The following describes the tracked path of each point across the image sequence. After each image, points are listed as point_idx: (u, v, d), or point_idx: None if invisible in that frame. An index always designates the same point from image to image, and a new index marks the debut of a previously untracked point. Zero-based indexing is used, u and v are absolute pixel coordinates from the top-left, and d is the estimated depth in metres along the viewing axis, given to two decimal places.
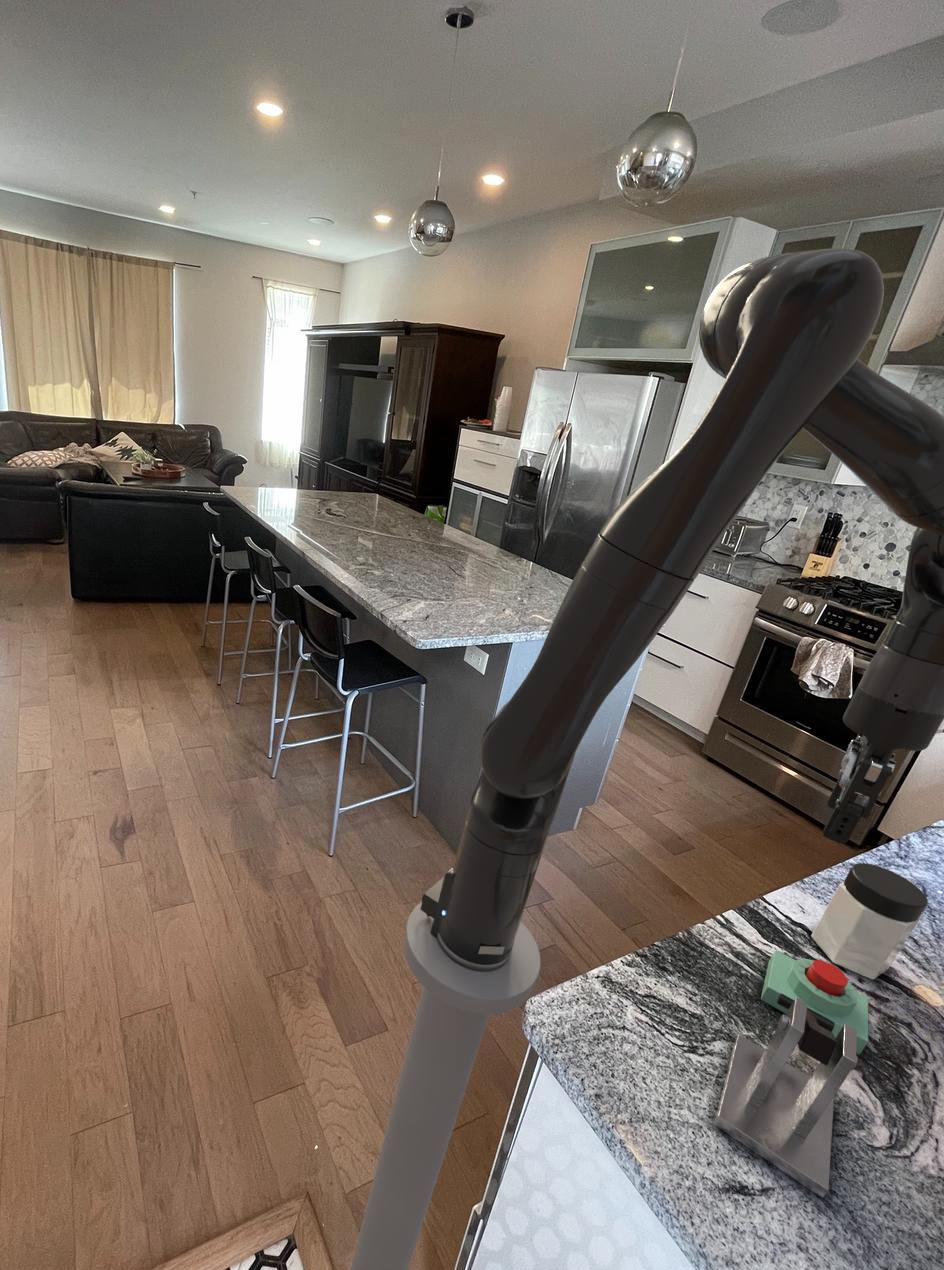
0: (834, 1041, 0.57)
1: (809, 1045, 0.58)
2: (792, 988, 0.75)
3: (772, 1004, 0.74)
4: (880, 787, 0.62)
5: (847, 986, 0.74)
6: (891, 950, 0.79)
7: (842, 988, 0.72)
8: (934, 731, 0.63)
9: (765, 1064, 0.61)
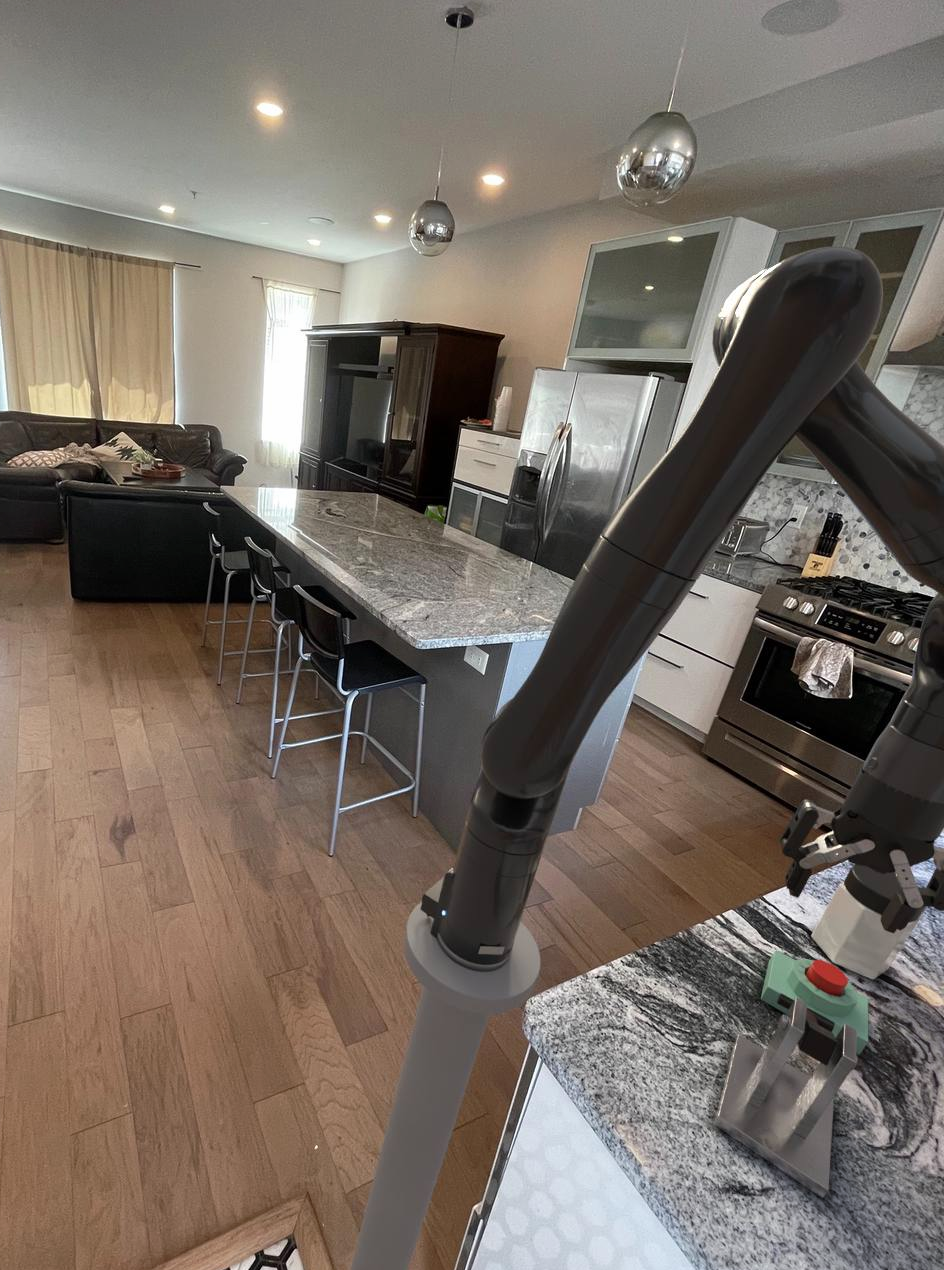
0: (834, 1041, 0.57)
1: (809, 1045, 0.58)
2: (792, 988, 0.75)
3: (772, 1004, 0.74)
4: (797, 824, 0.65)
5: (847, 986, 0.74)
6: (891, 950, 0.79)
7: (842, 988, 0.72)
8: (891, 808, 0.58)
9: (765, 1064, 0.61)
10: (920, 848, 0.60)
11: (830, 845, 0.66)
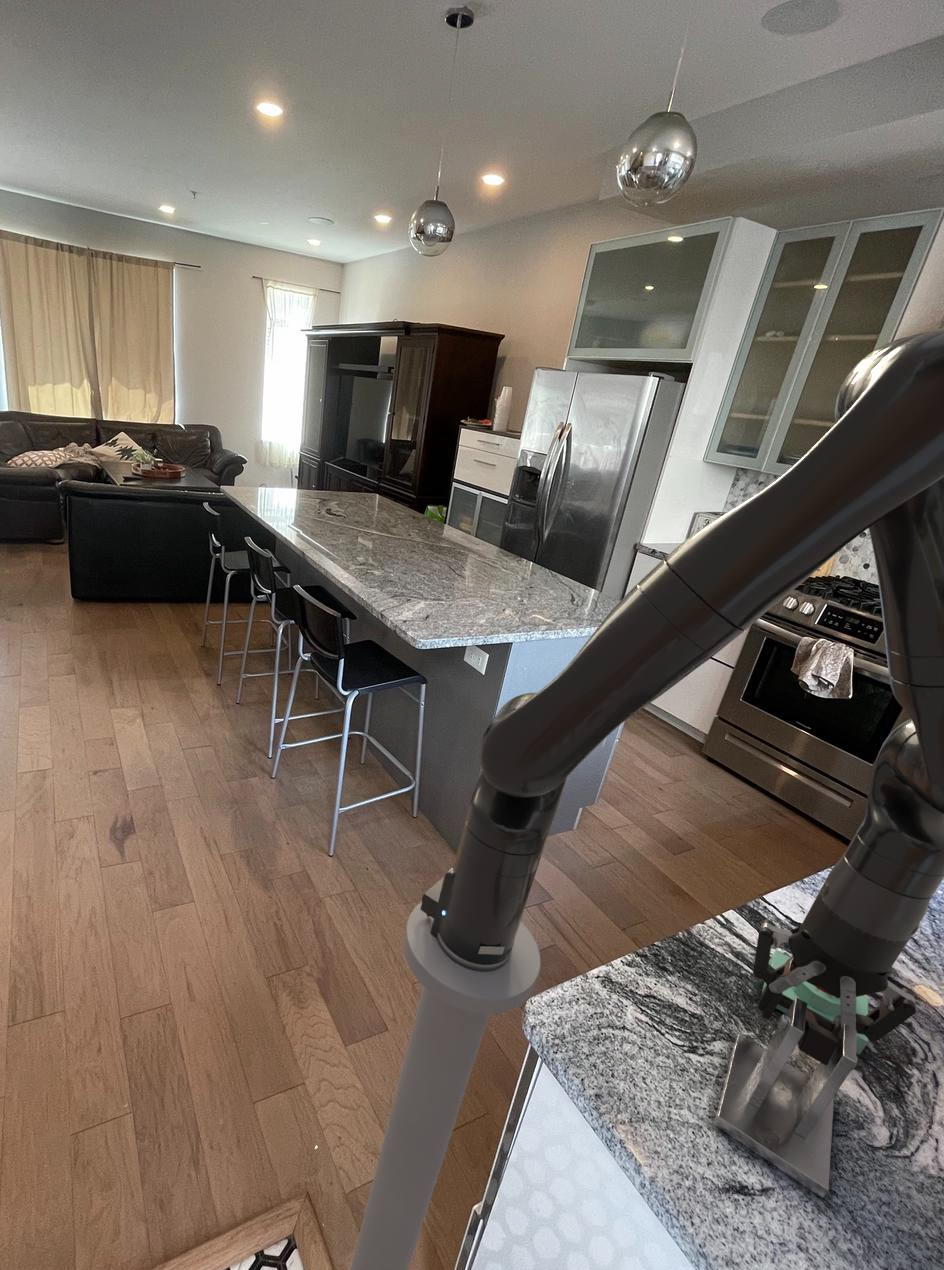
0: (834, 1041, 0.57)
1: (809, 1045, 0.58)
2: (792, 988, 0.75)
3: None
4: (757, 945, 0.67)
5: None
6: None
7: None
8: (835, 935, 0.61)
9: (765, 1064, 0.61)
10: (872, 979, 0.61)
11: None
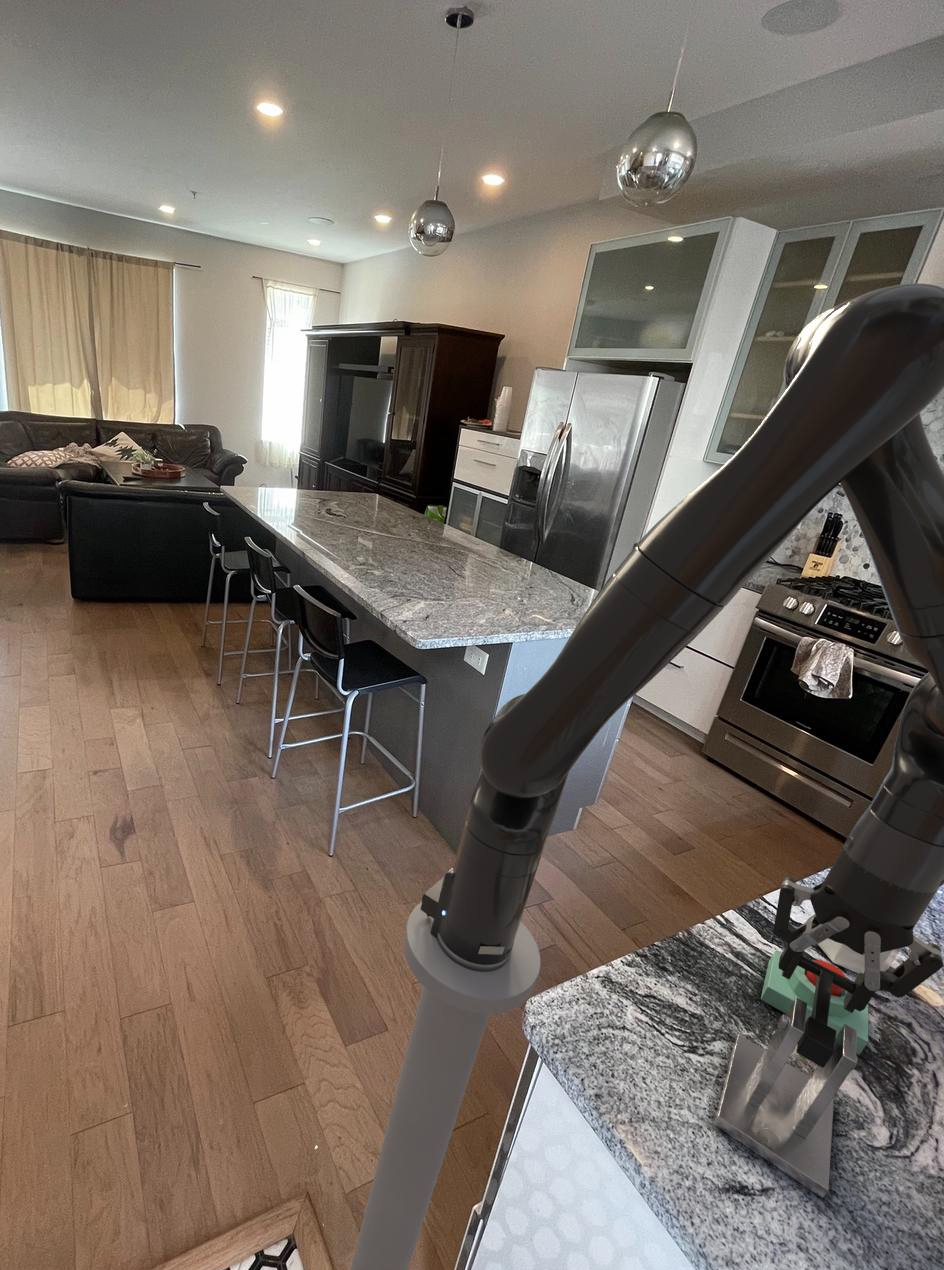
0: (831, 1050, 0.56)
1: (806, 1050, 0.58)
2: (792, 988, 0.75)
3: (772, 1004, 0.74)
4: (778, 903, 0.66)
5: None
6: (891, 950, 0.79)
7: None
8: (861, 888, 0.59)
9: (765, 1064, 0.61)
10: (897, 934, 0.60)
11: None
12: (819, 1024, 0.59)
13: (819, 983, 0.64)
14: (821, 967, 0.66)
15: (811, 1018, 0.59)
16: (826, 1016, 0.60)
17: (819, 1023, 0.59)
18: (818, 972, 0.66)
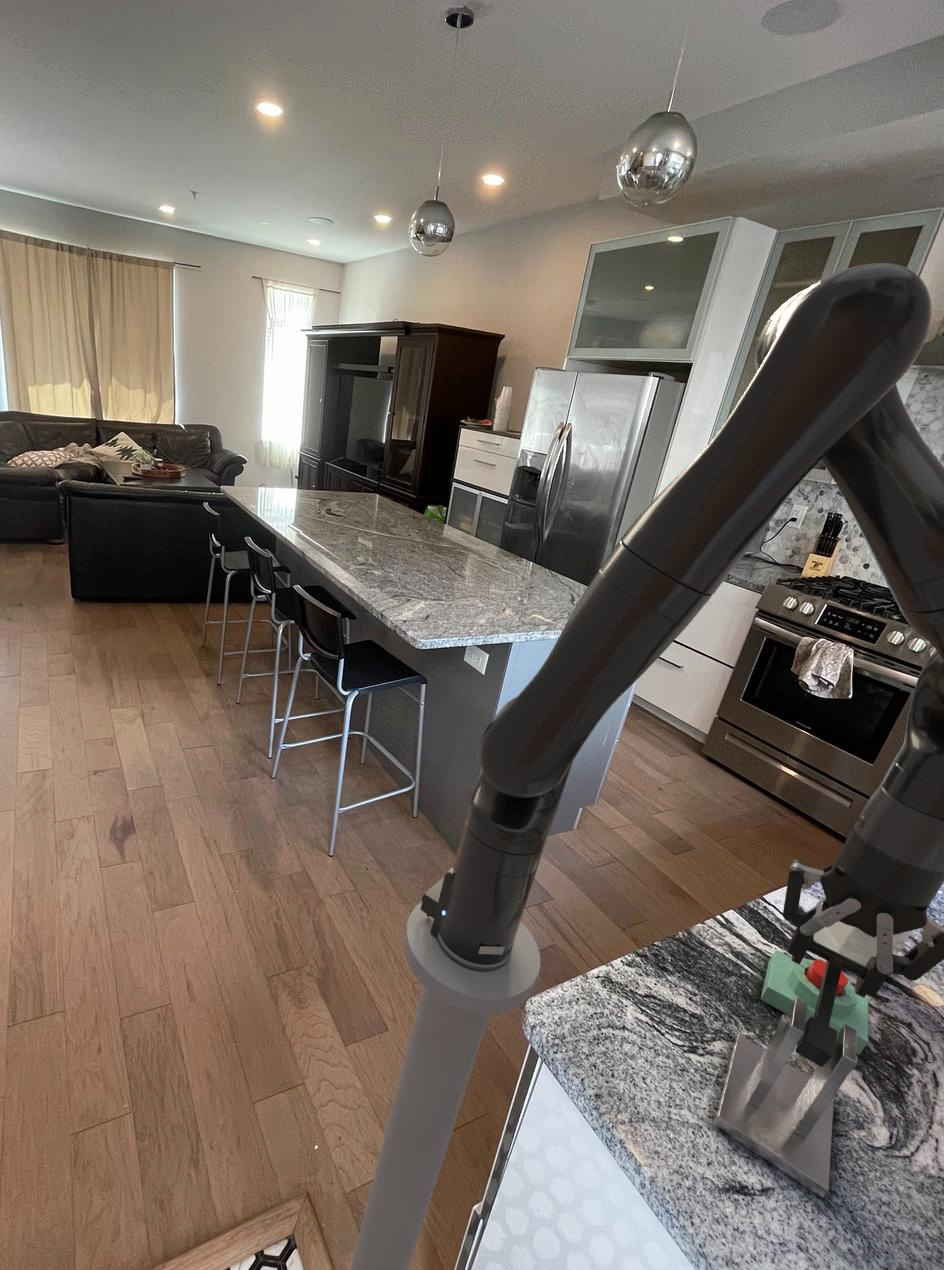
0: (829, 1055, 0.56)
1: (804, 1051, 0.58)
2: (792, 988, 0.75)
3: (772, 1004, 0.74)
4: (787, 886, 0.65)
5: (847, 986, 0.74)
6: None
7: (842, 988, 0.72)
8: (872, 868, 0.58)
9: (765, 1064, 0.61)
10: (910, 915, 0.59)
11: None
12: (820, 1025, 0.58)
13: (827, 972, 0.63)
14: (831, 953, 0.64)
15: (812, 1019, 0.59)
16: (830, 1012, 0.60)
17: (820, 1024, 0.58)
18: (827, 958, 0.64)
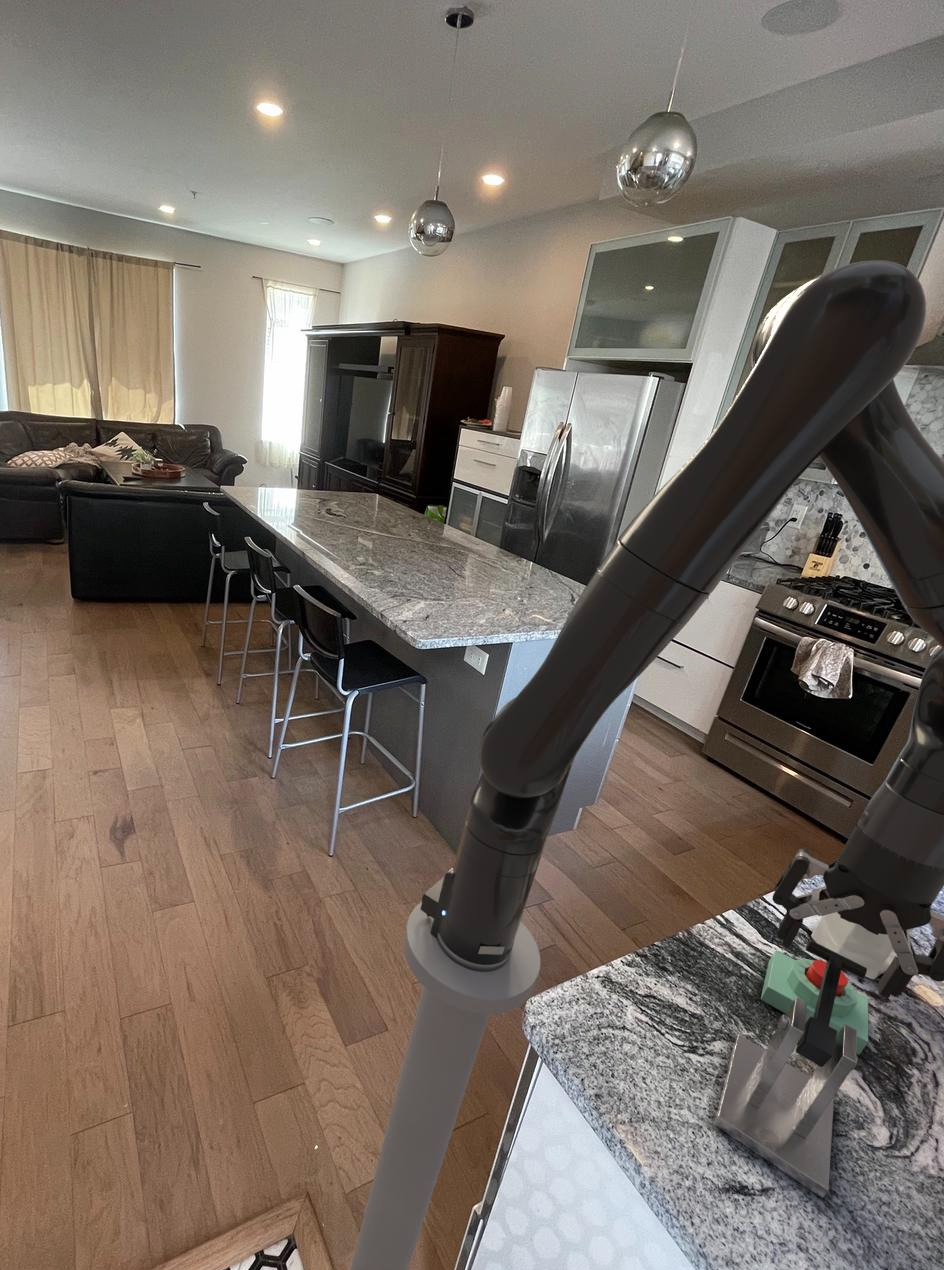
0: (829, 1055, 0.56)
1: (804, 1051, 0.58)
2: (792, 988, 0.75)
3: (772, 1004, 0.74)
4: (788, 872, 0.64)
5: (847, 986, 0.74)
6: (891, 950, 0.79)
7: (842, 988, 0.72)
8: (876, 865, 0.57)
9: (765, 1064, 0.61)
10: (914, 912, 0.58)
11: (826, 899, 0.64)
12: (820, 1025, 0.58)
13: (826, 973, 0.63)
14: (831, 953, 0.64)
15: (812, 1019, 0.59)
16: (829, 1012, 0.60)
17: (820, 1024, 0.58)
18: (827, 959, 0.64)
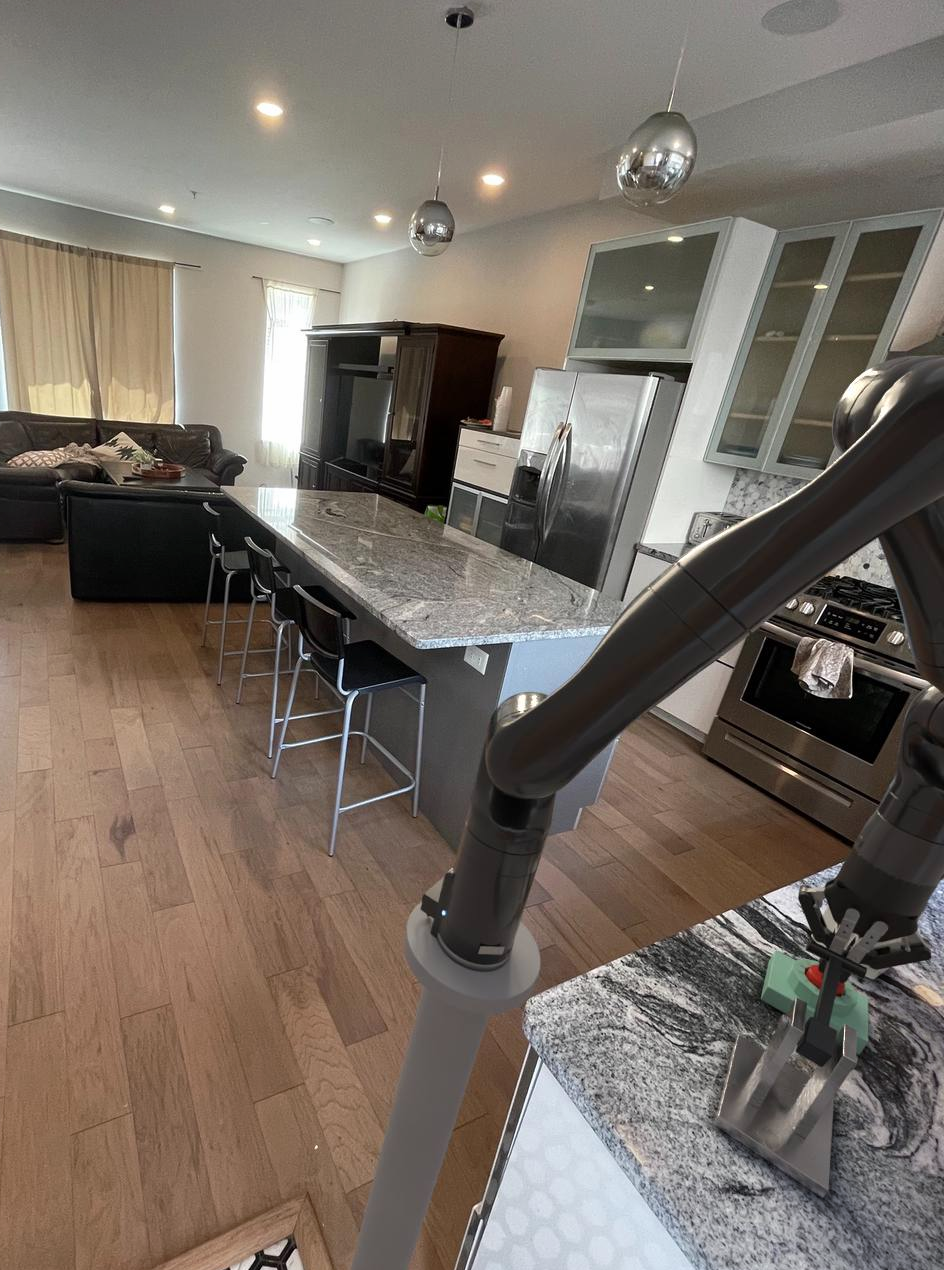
0: (829, 1055, 0.56)
1: (804, 1051, 0.58)
2: (792, 988, 0.75)
3: (772, 1004, 0.74)
4: None
5: (847, 986, 0.74)
6: None
7: (839, 992, 0.72)
8: (870, 882, 0.66)
9: (765, 1064, 0.61)
10: (903, 923, 0.67)
11: None
12: (820, 1025, 0.58)
13: (826, 973, 0.63)
14: (831, 953, 0.64)
15: (812, 1019, 0.59)
16: (829, 1012, 0.60)
17: (820, 1024, 0.58)
18: (827, 959, 0.64)
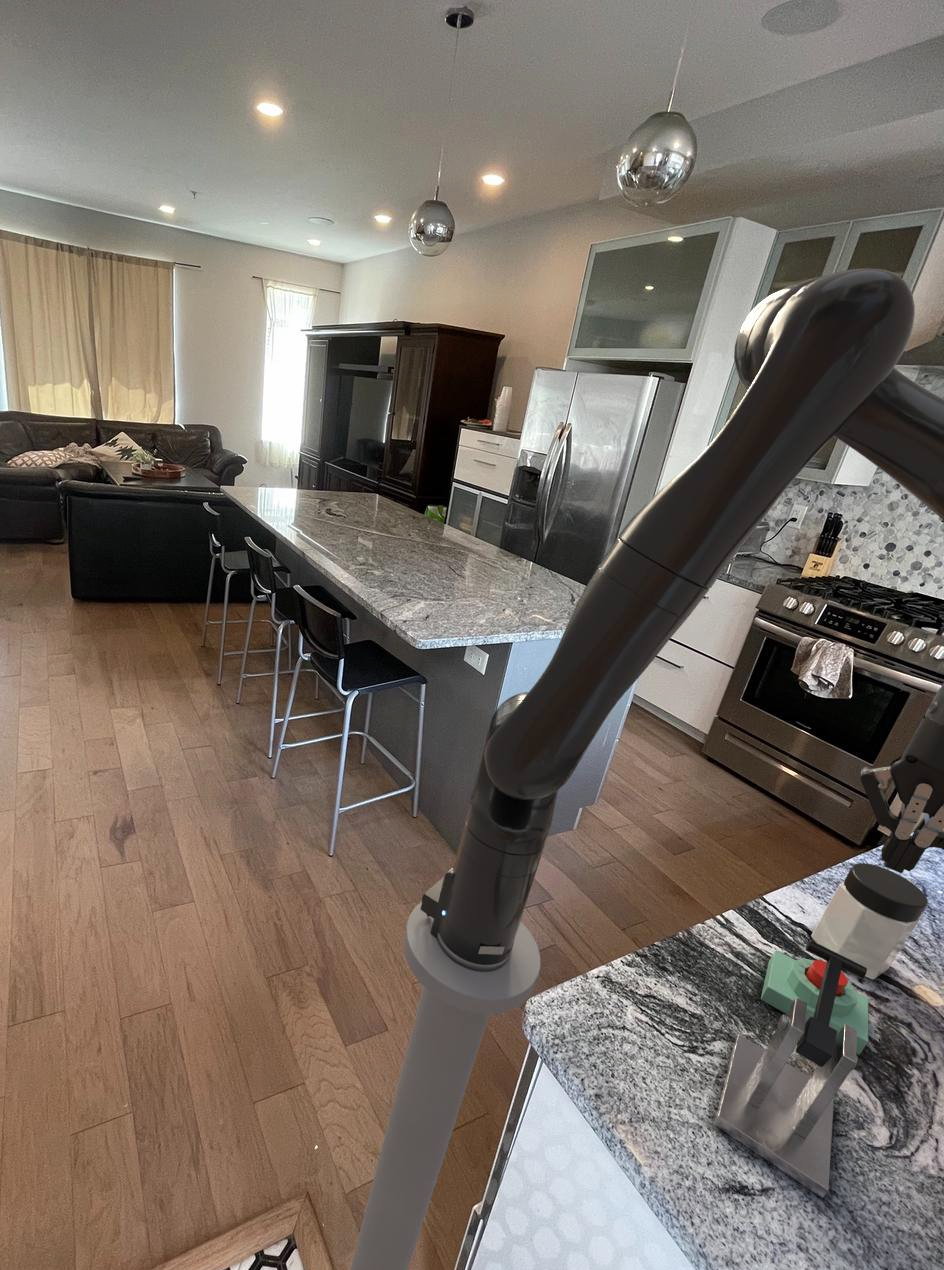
0: (829, 1055, 0.56)
1: (804, 1051, 0.58)
2: (792, 988, 0.75)
3: (772, 1004, 0.74)
4: (866, 793, 0.67)
5: (847, 986, 0.74)
6: (891, 950, 0.79)
7: (842, 988, 0.72)
8: None
9: (765, 1064, 0.61)
10: None
11: None
12: (820, 1025, 0.58)
13: (826, 973, 0.63)
14: (831, 953, 0.64)
15: (812, 1019, 0.59)
16: (829, 1012, 0.60)
17: (820, 1024, 0.58)
18: (827, 959, 0.64)
